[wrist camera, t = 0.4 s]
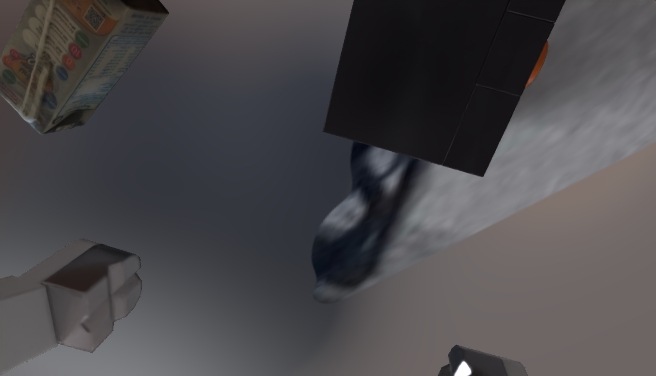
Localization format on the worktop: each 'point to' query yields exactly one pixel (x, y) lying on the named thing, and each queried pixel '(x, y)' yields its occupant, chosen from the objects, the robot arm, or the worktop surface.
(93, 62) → the beverage carton
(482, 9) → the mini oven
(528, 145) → the worktop surface
